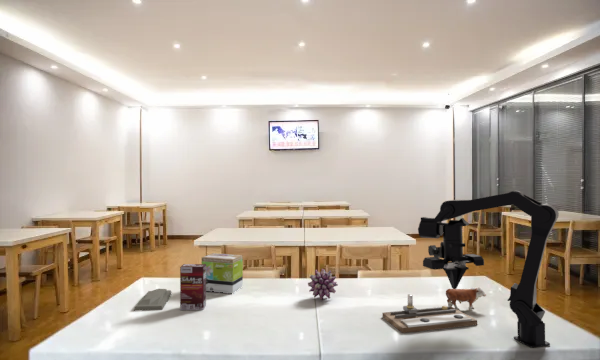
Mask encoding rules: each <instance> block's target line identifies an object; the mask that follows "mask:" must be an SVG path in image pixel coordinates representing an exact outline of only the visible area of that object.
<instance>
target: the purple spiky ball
mask: <svg viewBox="0 0 600 360" xmlns="http://www.w3.org/2000/svg"><path fill="white" fill-rule="evenodd" d="M314 273H315V275H314V274H310V275H309V276H308V277H309V279H310V280H311V281H309V282H307V285H308V287H310V289H309V293H310V292H313V293H312V296H313V297H314V298H316V297H318V296H319V299H320V300H324V297H327V298H328V299H331V293H333V294H335V293H336V292H337V290H336V289H335V288H334V287H337V286H338V285H339V284H338V283H337V281H335V279H337V276H335V275H334V276H333V273H332V270H329V271H328V272H327V271H326V270H325V269H324V268H321V271H318V269H315V272H314Z"/></svg>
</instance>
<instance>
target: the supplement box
mask: <svg viewBox="0 0 600 360" xmlns="http://www.w3.org/2000/svg"><path fill="white" fill-rule="evenodd" d="M179 268H180V269H179V273H180V275H179V281H180V282H179V283H180V284H179V285H180V286H179V287H180V288H179V289H180V290H179V293H180V294H179V295H180V297H179V299H180V300H179V301H180V306H179V309H180V311H203V310H205V308H206V307H207V291H206V264H202V263H199V264H198V263H195V264H194V263H187V264H185V263H184V264H182V265H181V266H180V267H179Z"/></svg>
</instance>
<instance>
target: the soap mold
mask: <svg viewBox="0 0 600 360" xmlns="http://www.w3.org/2000/svg"><path fill="white" fill-rule="evenodd" d="M171 293H172V290H170V289H167V288H156V289H154V290H148V291H147V292H146V293H145V294H144V296H143V297H142V298H141V299H140V301H138V303H137V304H136V305H135V306H134V309H133V312H136V311H135V310H142V311H155V310H156V311H158V310H164V308H165V306H166V304H167V303H166V302H168V301H169V300H170V298H171V296H172V294H173V293H172V294H171ZM170 295H171V296H170ZM169 297H170V298H169Z"/></svg>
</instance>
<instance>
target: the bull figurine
mask: <svg viewBox="0 0 600 360" xmlns="http://www.w3.org/2000/svg"><path fill="white" fill-rule="evenodd" d="M445 296H446V299H447V300H446V302H447V307H448V306H451V307H453V308H455V309H457V310H459V311H460V308H459V307H458V306H457V303H456V302H459V304H462V303H464V302H465V303H466V302H467V303H468V310H469V311H473V310H474V309H475V307H474V306H473V304H474V303H475V302H477V300H479V298H481V297H483V298H484V297H487V293H485V290H484V289H483V288H482V287H481V286H479V287H469V288H456V289H453V288H448V289H446V291H445Z"/></svg>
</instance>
